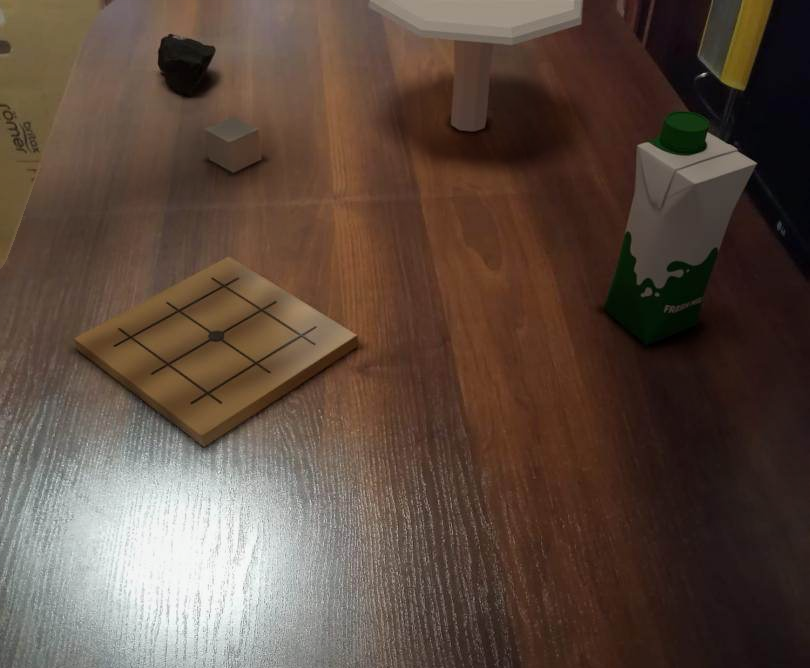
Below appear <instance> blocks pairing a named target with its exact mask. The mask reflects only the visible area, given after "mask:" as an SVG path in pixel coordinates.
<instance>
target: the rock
mask: <svg viewBox="0 0 810 668" xmlns="http://www.w3.org/2000/svg"><path fill="white" fill-rule="evenodd" d="M216 51H217V49H216V47H215V46H214V45H209V44H203V42H200V41H198V40H195V39H193V38H189V37H185V36H182V35H178V34H174V33H169V34H167V35H166V36H162V38H161V39H160V44H159V47H158V51H157V55H158V56H157V66H158V69H159V71H161V72H162V73H163V74H162V75H163V77H164V80H165V82H166V84H167V85H168V86H169V87H171V88H172V89H174V90H175V91H176V92H177V93H179V94H181V95H183V96H188V95H190V94H192V93H193V92H194V91H195V88H196V87H198V85H199V84H200V82H201V81H202V80H203V78H204V77H205V75H206V73H207V70H208V68H209V66H210V64H211V62H212V60H213V58H214V56H215V54H216Z"/></svg>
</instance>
